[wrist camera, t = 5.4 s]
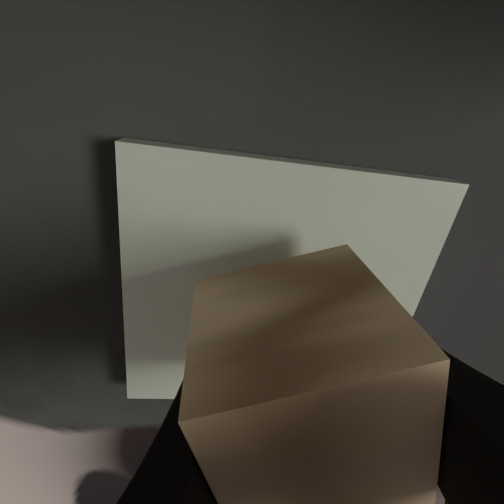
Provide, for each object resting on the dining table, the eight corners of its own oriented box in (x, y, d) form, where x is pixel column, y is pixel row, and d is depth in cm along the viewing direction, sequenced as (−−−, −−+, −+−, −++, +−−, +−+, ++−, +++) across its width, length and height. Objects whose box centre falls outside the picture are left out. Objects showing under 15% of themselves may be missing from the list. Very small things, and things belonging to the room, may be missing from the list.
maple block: (346, 244, 10) (450, 359, 6) (356, 356, 12) (435, 503, 8) (195, 279, 10) (177, 422, 6) (232, 385, 12) (240, 548, 8)
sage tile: (450, 178, 12) (469, 184, 11) (368, 384, 17) (376, 400, 16) (123, 137, 10) (114, 140, 9) (132, 380, 15) (127, 398, 14)
